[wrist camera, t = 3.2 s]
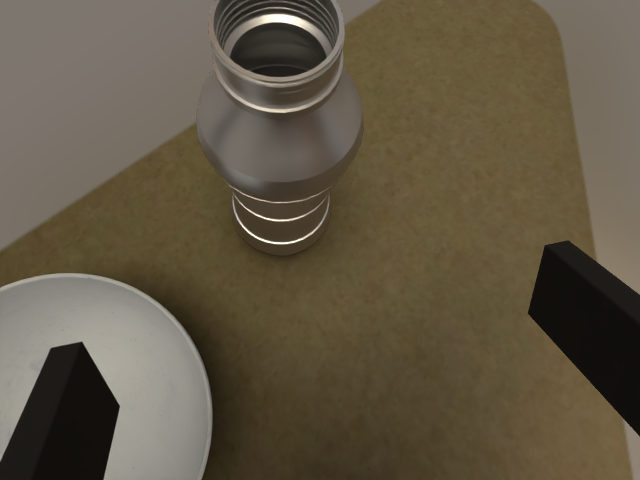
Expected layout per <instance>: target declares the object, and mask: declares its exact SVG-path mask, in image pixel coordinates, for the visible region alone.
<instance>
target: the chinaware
mask: <svg viewBox="0 0 640 480" xmlns="http://www.w3.org/2000/svg"><path fill="white" fill-rule="evenodd" d="M81 341H82V342H83V344H84V346H85V347H86V349H87V351H88V352H89V354H90V356H91V357H92V359H93V361H94V363H95V364H96V366H97V368H98V369H99V371H100V373H101V374H102V376H103V378H104V380H105V381H106V383H107V385H108V386H109V388H110V390H111V391H112V393H113V395H114V397H115V398H116V400H117V402H118V403H119V405H120V409H119V414H118V418H117V422H116V427H115V431H114V436H113V440H112V445H111V449H110V453H109V458H108V462H107V467H106V471H105V476H104V480H202V477H203V474H204V471H205V467H206V464H207V460H208V455H209V450H210V445H211V437H212V425H213V408H212V396H211V390H210V384H209V380H208V376H207V372H206V369H205V366H204V363H203V361H202V358H201V356H200V354H199V352H198V350H197V348H196V346H195V344H194V342H193V340H192V339H191V337H190V336H189V334H188V333H187V331H186V330H185V329H184V327H183V326H182V325H181V324H180V322H179V321H178V320H177V319H176V318H175V317H174V316H173V315H172V314H171V313H170V312H169V311H168V310H167V309H166V308H165V307H164V306H162V305H161V304H160V303H159V302H157V301H156V300H155V299H153V298H152V297H150V296H149V295H147V294H145V293H144V292H142V291H140V290H138V289H136V288H134V287H132V286H130V285H127V284H125V283H122V282H120V281H117V280H113V279H110V278H106V277H102V276H97V275H90V274H80V273H59V274H49V275H42V276H36V277H32V278H27V279H24V280H20V281H17V282H14V283H11V284H8V285H6V286H3V287H1V288H0V461H1V459H2V456H3V454H4V452H5V450H6V447H7V445H8V443H9V441H10V438H11V436H12V434H13V432H14V429H15V427H16V425H17V423H18V420H19V418H20V416H21V414H22V411H23V409H24V407H25V405H26V403H27V400H28V398H29V396H30V394H31V391H32V389H33V387H34V385H35V382H36V380H37V378H38V376H39V373H40V371H41V369H42V367H43V364H44V362H45V360H46V358H47V355H48V353H49V351H50V349H51V348H52V347H57V346H62V345H67V344H72V343H77V342H81Z"/></svg>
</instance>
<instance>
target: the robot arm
mask: <svg viewBox="0 0 640 480" xmlns="http://www.w3.org/2000/svg"><path fill="white" fill-rule="evenodd" d="M528 314H529V315H530V316H531V317H532V319H533V320H534V321H535V322H536V323H537V324H538V325H539V326H540V327H541V328H542V330H543V331H544V332H545V333H546V334H547V335H548V336H549V337H550V338H551V339H552V341H553V342H554V343H555V344H556V345H557V346H558V347H559V348H560V349H561V350H562V352H563V353H564V354H565V355H566V356H567V357H568V358H569V359H570V360H571V361H572V363H573V364H574V365H575V366H576V367H577V368H578V369H579V370H580V371H581V372H582V374H583V375H584V376H585V377H586V378H587V379H588V380H589V381H590V382H591V383H592V384H593V386H594V387H595V388H596V389H597V390H598V391H599V392H600V393H601V394H602V395H603V397H604V398H605V399H606V400H607V401H608V402H609V403H610V404H611V405H612V406H613V408H614V409H615V410H616V411H617V412H618V413H619V414H620V415H621V416H622V417H623V419H624V420H625V421H626V422H627V423H628V424H629V425H630V426H631V427H632V428H633V430H634V431H635V432H636V433H637V434H638V435H639V436H640V295H639V294H638V293H637V292H635V291H634V290H632V289H631V288H630V287H629V286H627V285H626V284H625V283H623V282H622V281H621V280H620V279H618V278H617V277H616V276H614V275H613V274H612V273H610V272H609V271H608V270H606V269H605V268H604V267H602V266H601V265H600V264H599V263H597V262H596V261H595V260H593V259H592V258H591V257H589V256H588V255H587V254H585V253H584V252H583V251H582V250H580V249H579V248H578V247H576V246H575V245H574V244H572V243H571V242H570V241H563V242H559V243H554V244H549V245H545V247H544V251H543V255H542V259H541V263H540V267H539V271H538V275H537V279H536V283H535V287H534V291H533V295H532V299H531V303H530V307H529V311H528ZM119 409H120V405H119V403H118V402H117V400H116V398H115V397H114V395H113V393H112V391H111V390H110V388H109V386H108V385H107V383H106V381H105V380H104V378H103V376H102V374H101V373H100V371H99V369H98V368H97V366H96V364H95V363H94V361H93V359H92V357H91V356H90V354H89V352H88V351H87V349H86V347H85V346H84V344H83V342H82V341H81V342H77V343H72V344H67V345H62V346H57V347H52V348H51V349H50V351H49V353H48V355H47V358H46V360H45V362H44V364H43V367H42V369H41V371H40V373H39V376H38V378H37V380H36V382H35V385H34V387H33V389H32V391H31V394H30V396H29V398H28V400H27V403H26V405H25V407H24V409H23V411H22V414H21V416H20V418H19V420H18V423H17V425H16V427H15V429H14V432H13V434H12V436H11V438H10V441H9V443H8V445H7V447H6V450H5V452H4V454H3V456H2V459H1V461H0V480H104V476H105V471H106V467H107V462H108V458H109V453H110V449H111V445H112V440H113V436H114V431H115V427H116V422H117V418H118V414H119Z"/></svg>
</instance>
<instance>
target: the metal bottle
mask: <svg viewBox="0 0 640 480" xmlns="http://www.w3.org/2000/svg"><path fill="white" fill-rule="evenodd" d="M208 33H209V38H210V43H211V46H212V50H213V64H214V69H213V70H212V71H211V73H210V74H209V76H208V78H207V79H206V81H205V83H204V85H203V88H202V91H201V95H200V98H199V103H198V108H197V119H196V128H197V134H198V140H199V142H200V144H201V147H202V149H203V152H204V154H205V156H206V157H207V159H208V160H209V162H210V164H211V165H212V166H213V168H214V169H215V171H216V172H217V174H218V175H219V176H220V177H221V178H222V179H223V180H224V181H225V182H226V183H227V184H228V186H229V187H230V188H231V190H232V192H233V194H232V201H231V215H232V220H233V223H234V226H235V228H236V230H237V232H238V233H239V235H240V236H241V238H242V239H243V240H245V241H246V242H247V243H248V244H249V245H250V246H252V247H254V248H255V249H257V250H259V251H262V252H264V253H267V254H272V255H290V254H295V253H297V252H300V251H302V250H305V249H306V248H308V247H310V246H311V245H313V244H314V243H315V242H316V241H317V240H318V239H319V238H320V237H321V236H322V234H323V233H324V231H325V230H326V227H327V225H328V223H329V219H330V214H331V203H330V195H329V192H330V190H331V188H332V187H333V186H334V184H335V183H336V182H337V181H338V180H339V179H340V178H341V177H342V176H343V174H344V173H345V172H346V170H347V169H348V167H349V166H350V165H351V163H352V161H353V160H354V158H355V156H356V154H357V152H358V149H359V147H360V145H361V142H362V137H363V132H364V117H363V110H362V104H361V100H360V96H359V92H358V89H357V87H356V85H355V83H354V81H353V79H352V77H351V76H350V75H349V74H348V72H347V71H346V70H345V68H344V67H343V51H342V48H343V43H344V37H345V36H344V20H343V16H342V12H341V9H340V7H339V5H338V3H337V1H336V0H214V2H213V4H212V6H211V9H210V13H209V21H208Z"/></svg>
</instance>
